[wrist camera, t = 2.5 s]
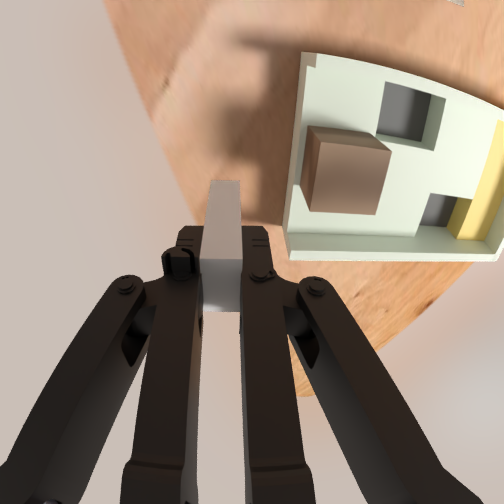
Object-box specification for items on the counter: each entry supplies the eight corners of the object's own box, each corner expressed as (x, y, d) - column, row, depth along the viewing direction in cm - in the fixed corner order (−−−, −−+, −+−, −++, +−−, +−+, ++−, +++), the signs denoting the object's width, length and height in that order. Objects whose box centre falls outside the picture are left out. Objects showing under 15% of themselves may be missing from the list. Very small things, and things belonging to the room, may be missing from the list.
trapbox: (301, 51, 19) (317, 53, 15) (516, 117, 21) (547, 134, 17) (281, 226, 29) (289, 260, 25) (475, 235, 31) (496, 261, 27)
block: (307, 125, 21) (321, 141, 18) (370, 133, 21) (392, 151, 18) (299, 185, 24) (309, 211, 21) (357, 189, 24) (375, 215, 21)
